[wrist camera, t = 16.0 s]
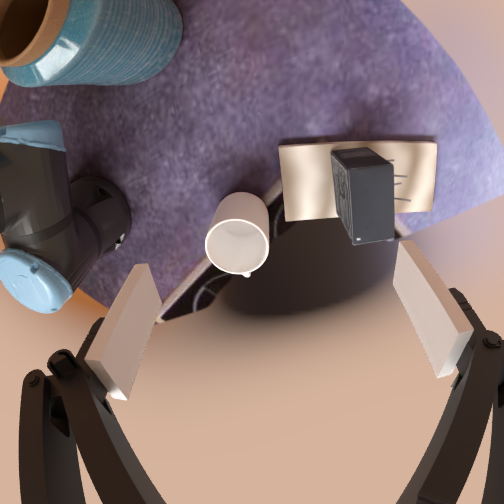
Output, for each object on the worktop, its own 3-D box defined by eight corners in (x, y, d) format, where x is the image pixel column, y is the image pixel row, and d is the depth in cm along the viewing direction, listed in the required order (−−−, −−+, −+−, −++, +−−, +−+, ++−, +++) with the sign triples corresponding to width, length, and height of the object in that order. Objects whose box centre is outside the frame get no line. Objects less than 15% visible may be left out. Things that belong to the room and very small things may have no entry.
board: (285, 217, 50) (285, 221, 49) (278, 145, 44) (278, 147, 42) (427, 207, 47) (431, 211, 46) (432, 141, 41) (437, 143, 40)
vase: (78, 74, 37) (-48, 96, 15) (112, -13, 29) (-1, -52, 7) (161, 96, 40) (52, 123, 17) (202, 2, 32) (129, -72, 9)
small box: (373, 209, 47) (396, 240, 38) (335, 214, 47) (351, 247, 39) (370, 145, 41) (396, 164, 32) (328, 150, 42) (345, 169, 33)
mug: (226, 257, 55) (218, 295, 45) (211, 194, 48) (197, 223, 39) (274, 251, 53) (276, 289, 44) (264, 186, 47) (263, 214, 38)
